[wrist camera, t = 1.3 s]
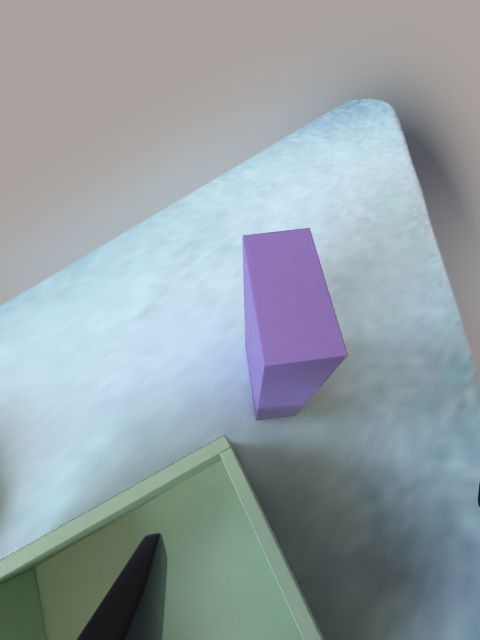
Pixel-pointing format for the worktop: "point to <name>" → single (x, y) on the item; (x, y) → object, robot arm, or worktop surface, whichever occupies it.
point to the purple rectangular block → (287, 322)
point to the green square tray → (182, 560)
